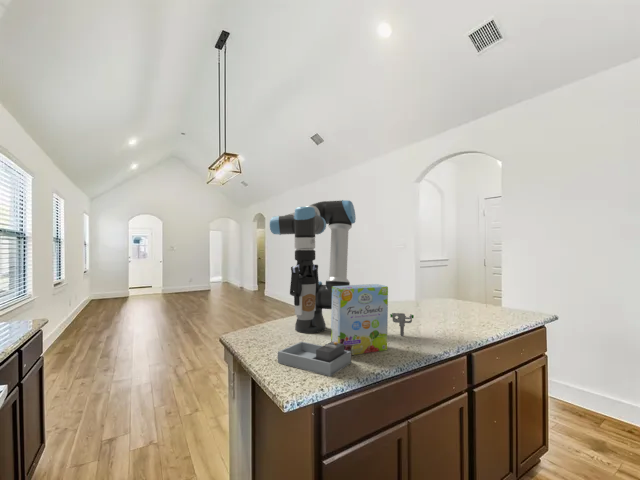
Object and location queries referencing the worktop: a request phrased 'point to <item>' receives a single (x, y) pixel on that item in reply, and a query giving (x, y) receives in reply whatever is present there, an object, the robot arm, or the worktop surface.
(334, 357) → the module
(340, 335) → the snack box
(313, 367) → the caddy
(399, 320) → the mechanical component
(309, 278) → the coffee cup
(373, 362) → the worktop surface
